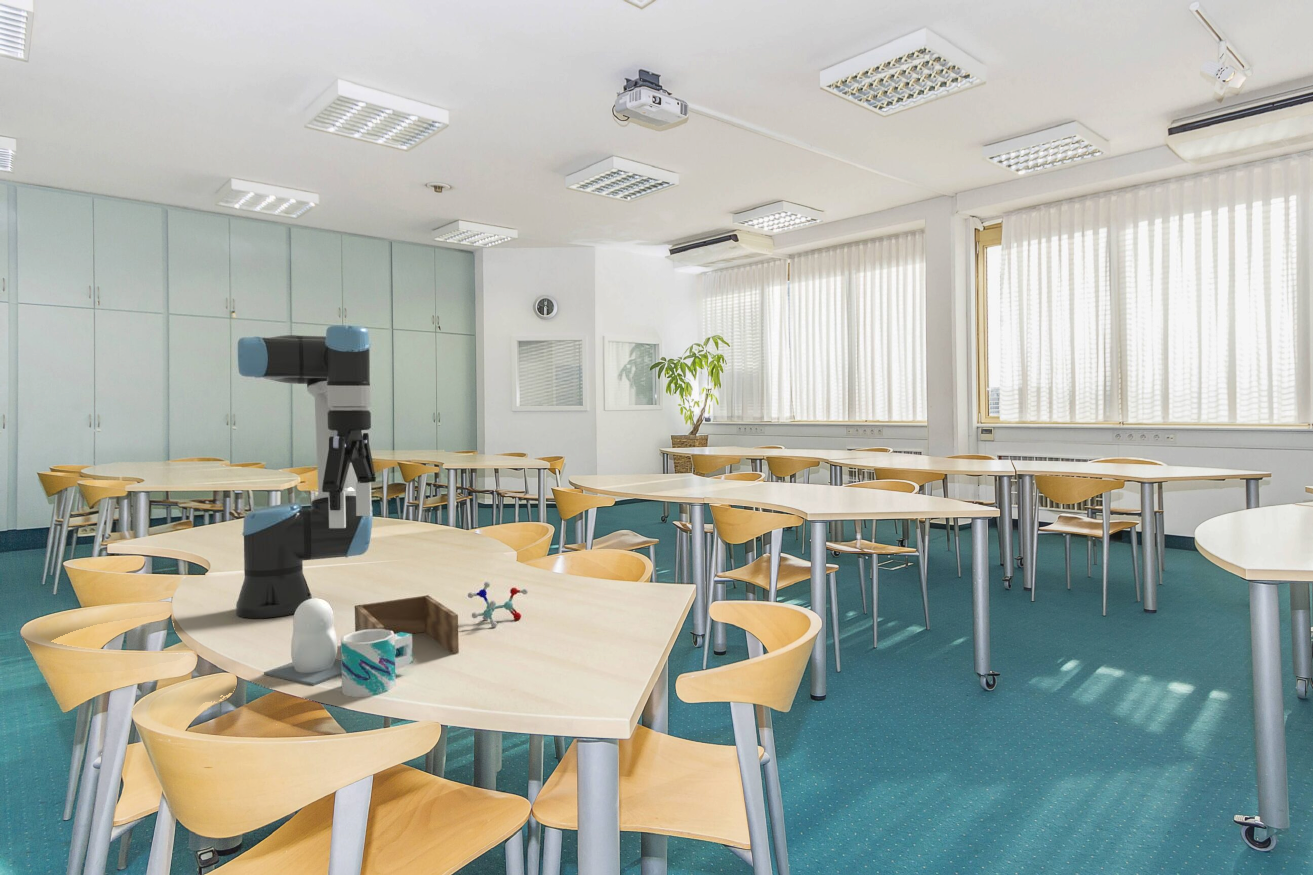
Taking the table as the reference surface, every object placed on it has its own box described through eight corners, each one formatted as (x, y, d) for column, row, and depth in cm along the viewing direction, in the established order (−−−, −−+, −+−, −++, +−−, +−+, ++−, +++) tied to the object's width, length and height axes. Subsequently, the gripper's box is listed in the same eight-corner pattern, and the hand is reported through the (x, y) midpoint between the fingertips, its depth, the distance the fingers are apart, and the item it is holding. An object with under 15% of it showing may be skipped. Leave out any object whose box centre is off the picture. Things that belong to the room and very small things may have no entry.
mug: (330, 691, 117) (329, 638, 117) (389, 667, 128) (388, 619, 128) (367, 700, 113) (366, 645, 113) (425, 675, 124) (424, 625, 124)
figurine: (291, 677, 122) (290, 605, 122) (291, 664, 129) (289, 595, 128) (338, 670, 125) (337, 600, 125) (335, 657, 132) (334, 590, 132)
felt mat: (263, 674, 125) (263, 672, 125) (314, 656, 134) (314, 654, 134) (313, 685, 120) (313, 682, 120) (362, 666, 129) (362, 663, 129)
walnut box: (355, 641, 143) (354, 605, 142) (428, 629, 150) (427, 595, 150) (378, 668, 128) (378, 627, 127) (458, 652, 135) (458, 614, 135)
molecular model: (509, 614, 148) (493, 569, 152) (471, 635, 150) (456, 590, 154) (538, 616, 158) (522, 574, 162) (501, 636, 160) (487, 594, 164)
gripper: (353, 407, 152) (355, 511, 153) (299, 410, 127) (302, 533, 128) (390, 407, 152) (392, 510, 153) (344, 410, 127) (346, 533, 128)
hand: (351, 521), depth 141 cm, fingers open, 13 cm apart
